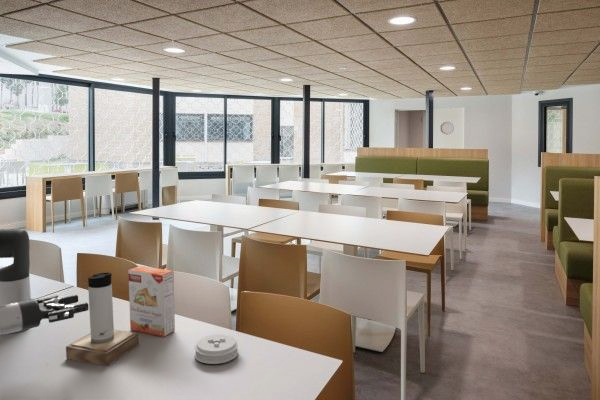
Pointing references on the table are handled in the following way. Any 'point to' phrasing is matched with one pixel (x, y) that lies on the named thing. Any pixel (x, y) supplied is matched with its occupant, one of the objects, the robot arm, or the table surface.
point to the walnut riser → (102, 348)
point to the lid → (216, 349)
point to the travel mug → (101, 307)
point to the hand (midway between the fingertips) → (82, 302)
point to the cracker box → (151, 300)
